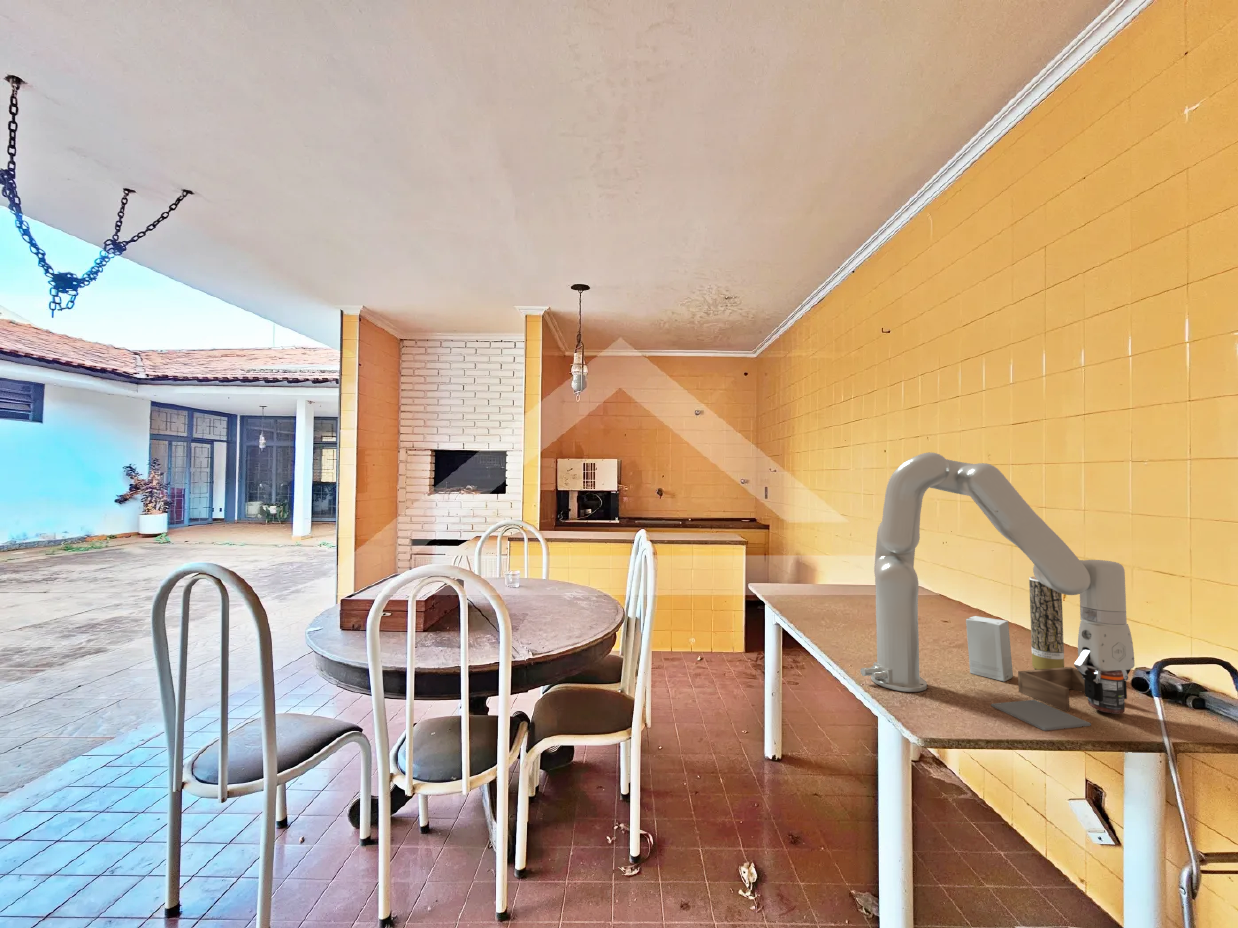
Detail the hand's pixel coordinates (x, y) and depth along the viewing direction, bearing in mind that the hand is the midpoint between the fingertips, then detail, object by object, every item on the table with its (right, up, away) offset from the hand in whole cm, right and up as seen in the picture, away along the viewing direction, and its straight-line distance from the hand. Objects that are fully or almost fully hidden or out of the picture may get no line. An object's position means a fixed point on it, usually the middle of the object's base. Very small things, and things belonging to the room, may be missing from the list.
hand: (1105, 697), depth 113 cm
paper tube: (+9, -5, +26) cm, 28 cm away
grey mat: (-16, -3, -1) cm, 16 cm away
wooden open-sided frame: (-1, -4, +8) cm, 9 cm away
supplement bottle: (0, -3, 0) cm, 3 cm away
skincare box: (-9, -5, +22) cm, 25 cm away
